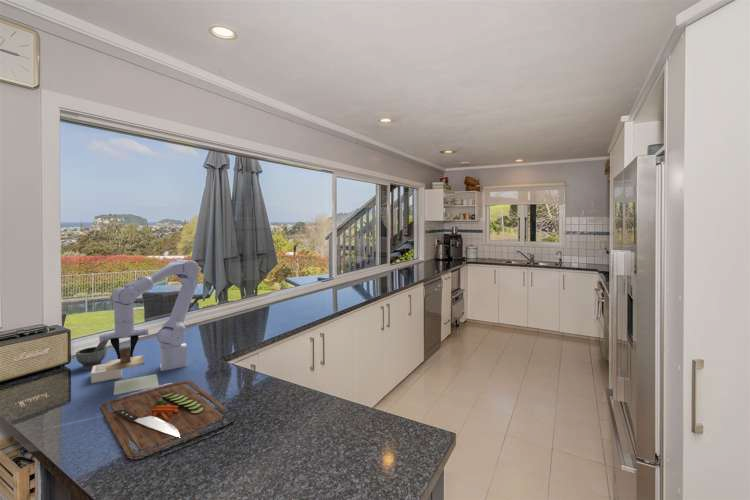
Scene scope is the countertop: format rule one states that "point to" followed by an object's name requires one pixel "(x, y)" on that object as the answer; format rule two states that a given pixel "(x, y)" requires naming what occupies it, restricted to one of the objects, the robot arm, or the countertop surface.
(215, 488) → the countertop surface
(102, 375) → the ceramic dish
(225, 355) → the countertop surface
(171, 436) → the chopping board
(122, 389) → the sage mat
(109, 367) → the birch lid
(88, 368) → the mortar and pestle
